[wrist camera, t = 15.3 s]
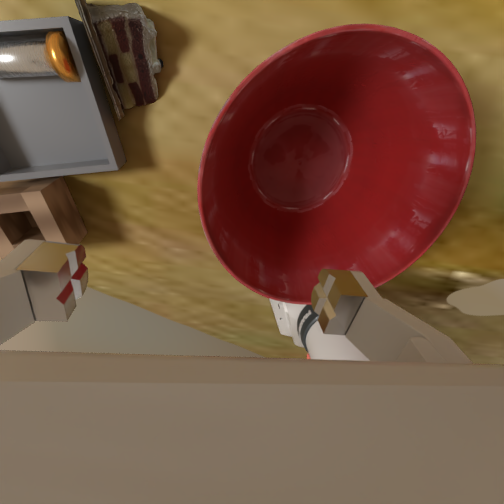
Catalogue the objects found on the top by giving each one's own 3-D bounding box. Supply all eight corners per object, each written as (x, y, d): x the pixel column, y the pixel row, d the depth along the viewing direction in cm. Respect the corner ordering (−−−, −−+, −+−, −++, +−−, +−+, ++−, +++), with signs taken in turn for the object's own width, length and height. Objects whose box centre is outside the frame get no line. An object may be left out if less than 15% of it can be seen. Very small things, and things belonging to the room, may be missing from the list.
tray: (126, 161, 39) (118, 169, 36) (13, 173, 38) (-6, 182, 35) (83, 22, 31) (67, 16, 27) (-62, 33, 30) (-97, 28, 27)
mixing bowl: (391, 3, 33) (506, -41, 20) (397, 213, 48) (464, 265, 35) (167, 89, 35) (139, 99, 22) (241, 264, 50) (250, 331, 37)
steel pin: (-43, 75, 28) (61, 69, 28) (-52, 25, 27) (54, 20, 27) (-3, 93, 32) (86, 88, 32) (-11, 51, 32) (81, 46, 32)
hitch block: (87, 232, 44) (71, 253, 39) (27, 239, 43) (3, 261, 38) (62, 175, 39) (40, 190, 34) (-6, 182, 38) (-39, 199, 33)
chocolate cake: (175, 117, 37) (167, 27, 26) (120, 128, 35) (85, 36, 24) (153, 59, 39) (136, -51, 27) (99, 66, 37) (57, -49, 26)
